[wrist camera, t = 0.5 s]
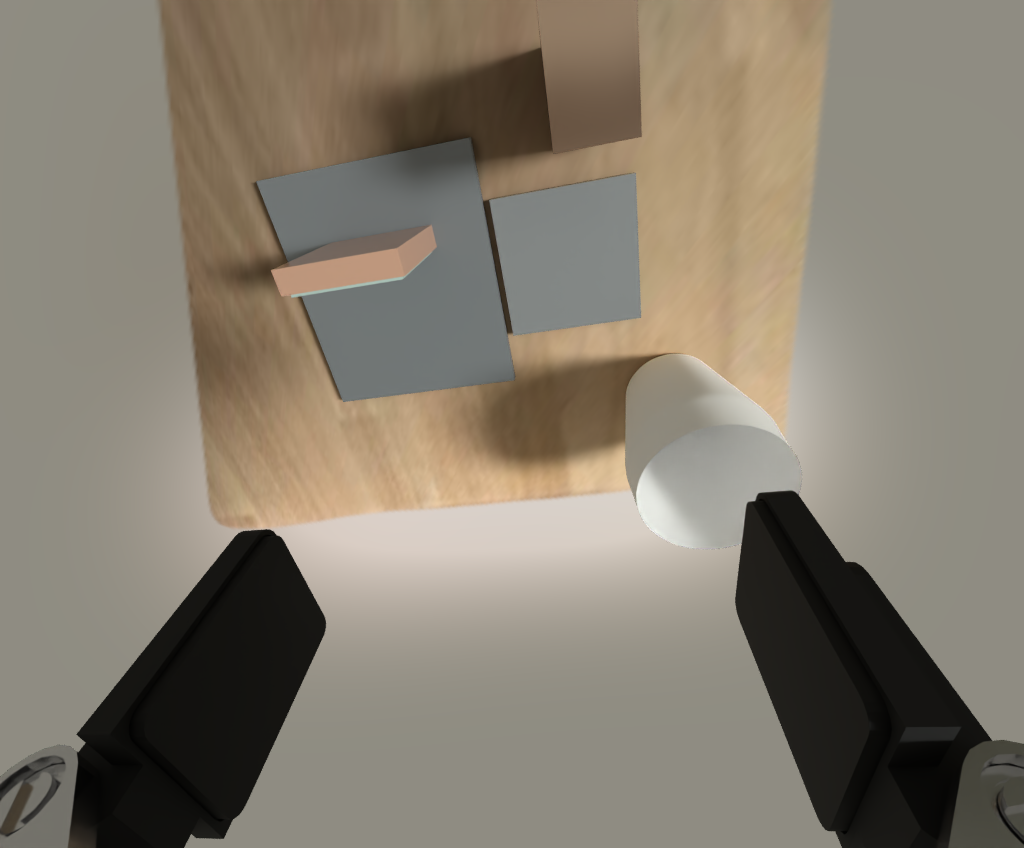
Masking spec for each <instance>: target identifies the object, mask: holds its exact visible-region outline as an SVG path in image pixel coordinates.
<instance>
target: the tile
mask: <svg viewBox="0 0 1024 848" xmlns="http://www.w3.org/2000/svg"><path fill="white" fill-rule="evenodd" d="M436 247H437V246H436V241H435V237H434V233H433V229H432V225H427V226H421V227H416V228H410V229H405V230H399V231H393V232H388V233H382V234H377V235H371V236H366V237H360V238H355V239H349V240H344V241H338V242H332V243H330V244H327V245H325V246H323V247H321V248H319V249H316V250H314V251H312V252H310V253H308V254H305V255H303V256H301V257H299V258H297V259H294V260H292V261H290V262H288V263H285V264H283V265H281V266H279V267H277V268H274V269H272V270H271V272H272V274H273V277H274V279H275V282H276V284H277V286H278V289H279V291H280V294H281V296H288V295H291V297H299V296H305V295H311V294H317V293H323V292H329V291H335V290H341V289H347V288H353V287H359V286H366V285H372V284H378V283H384V282H390V281H396V280H402V279H404V278H405V277H406V276H407V275H408V274H409V273H410V272H411V271H412V270H413V269H415V268H416V267H417V266H418V265H419V264H420V263H421V262H422V261H423V260H424V259H425V258H427V257H428V256H429V255H430V254H431V253H432V251H433V250H434V249H435V248H436Z"/></svg>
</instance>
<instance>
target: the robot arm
mask: <svg viewBox="0 0 1024 848" xmlns="http://www.w3.org/2000/svg"><path fill="white" fill-rule="evenodd" d="M735 603H736V610H737V614H738V617H739V620H740V623H741V625H742V628H743V630H744V633H745V635H746V638H747V640H748V643H749V645H750V648H751V650H752V653H753V656H754V658H755V661H756V663H757V666H758V668H759V671H760V673H761V676H762V678H763V681H764V683H765V686H766V688H767V691H768V693H769V696H770V699H771V701H772V703H773V706H774V709H775V711H776V714H777V716H778V719H779V721H780V724H781V726H782V729H783V731H784V733H785V736H786V739H787V741H788V744H789V746H790V749H791V751H792V754H793V756H794V759H795V762H796V764H797V767H798V769H799V772H800V774H801V777H802V779H803V782H804V784H805V787H806V789H807V792H808V794H809V797H810V800H811V802H812V805H813V807H814V810H815V812H816V814H817V817H818V819H819V821H820V823H821V824H822V826H823V827H824V828H825V830H827V831H836V834H837V836H838V839H839V841H840V844H841V846H842V848H1024V744H1022V743H1017V742H1011V741H1006V740H996V741H992V740H991V738H990V737H989V736H988V734H987V733H986V731H985V730H984V729H983V727H982V726H981V725H980V723H979V722H978V721H977V719H976V718H975V717H974V716H973V714H972V713H971V711H970V710H969V709H968V707H967V706H966V704H965V703H964V702H963V700H962V699H961V698H960V696H959V695H958V694H957V692H956V691H955V690H954V688H953V687H952V686H951V684H950V683H949V681H948V680H947V679H946V677H945V676H944V675H943V673H942V672H941V671H940V669H939V668H938V667H937V665H936V664H935V663H934V661H933V660H932V658H931V657H930V656H929V654H928V653H927V652H926V650H925V649H924V648H923V646H922V645H921V644H920V642H919V641H918V639H917V638H916V637H915V636H914V634H913V633H912V631H911V630H910V629H909V627H908V626H907V625H906V623H905V622H904V621H903V619H902V618H901V617H900V615H899V614H898V612H897V611H896V610H895V609H894V607H893V606H892V604H891V603H890V602H889V600H888V599H887V598H886V596H885V595H884V593H883V592H882V591H881V589H880V588H879V587H878V585H877V584H876V583H875V581H874V580H873V579H872V577H871V576H870V575H869V573H868V572H867V571H866V570H865V569H864V568H863V567H862V566H860V565H859V564H857V563H855V562H845V561H844V559H843V558H842V556H841V555H840V553H839V552H838V551H837V549H836V548H835V546H834V545H833V544H832V542H831V541H830V539H829V538H828V536H827V535H826V534H825V532H824V531H823V529H822V528H821V526H820V525H819V524H818V522H817V521H816V519H815V518H814V517H813V515H812V514H811V512H810V511H809V509H808V508H807V507H806V505H805V504H804V502H803V501H802V500H801V498H800V497H799V495H798V494H797V493H796V492H795V491H792V490H789V491H776V492H762V493H758V495H757V496H756V500H755V501H750V502H748V503H747V505H746V511H745V519H744V528H743V537H742V546H741V554H740V562H739V571H738V580H737V589H736V597H735ZM325 628H326V620H325V617H324V615H323V613H322V611H321V609H320V607H319V605H318V604H317V602H316V600H315V598H314V596H313V594H312V592H311V591H310V589H309V587H308V585H307V583H306V581H305V580H304V578H303V576H302V574H301V572H300V570H299V568H298V567H297V565H296V563H295V561H294V559H293V557H292V555H291V554H290V552H289V550H288V548H287V546H286V544H285V542H284V541H283V539H282V538H281V537H280V536H277V535H276V534H275V533H274V532H273V531H272V530H267V529H266V530H252V531H243V532H240V533H238V534H237V535H236V536H235V537H234V539H233V540H232V541H231V542H230V544H229V545H228V546H227V547H226V549H225V550H224V551H223V552H222V554H221V555H220V556H219V557H218V559H217V560H216V561H215V562H214V564H213V565H212V566H211V567H210V569H209V570H208V571H207V572H206V574H205V575H204V576H203V577H202V578H201V580H200V581H199V582H198V583H197V585H196V586H195V587H194V588H193V590H192V591H191V592H190V593H189V595H188V596H187V597H186V598H185V600H184V601H183V602H182V603H181V605H180V606H179V607H178V608H177V610H176V611H175V612H174V613H173V615H172V616H171V617H170V618H169V620H168V621H167V622H166V623H165V625H164V626H163V627H162V628H161V630H160V631H159V632H158V633H157V635H156V636H155V637H154V639H153V640H152V641H151V642H150V644H149V645H148V646H147V647H146V648H145V650H144V651H143V652H142V653H141V655H140V656H139V657H138V658H137V660H136V661H135V662H134V663H133V665H132V666H131V667H130V668H129V670H128V671H127V672H126V673H125V675H124V676H123V677H122V678H121V680H120V681H119V682H118V683H117V685H116V686H115V687H114V689H113V690H112V691H111V692H110V693H109V695H108V696H107V697H106V698H105V700H104V701H103V702H102V703H101V704H100V706H99V707H98V708H97V710H96V711H95V712H94V714H92V716H91V717H90V718H89V719H88V721H87V722H86V723H85V724H84V726H83V727H82V728H81V729H80V731H79V732H78V733H77V735H78V736H79V737H80V738H81V739H82V740H83V741H85V742H86V743H85V745H84V746H83V747H82V748H81V750H80V751H79V752H77V751H75V750H74V749H73V748H72V747H71V746H65V745H57V746H53V747H49V748H45V749H42V750H40V751H38V752H36V753H34V754H32V755H30V756H28V757H26V758H25V759H23V760H22V761H20V762H19V763H18V764H16V765H14V766H13V767H11V768H10V769H9V770H7V771H6V772H5V773H4V774H3V775H1V776H0V848H184V847H185V845H186V842H187V841H188V839H189V837H190V835H191V834H192V835H193V836H195V837H196V838H213V839H214V838H215V839H224V837H225V835H226V833H227V830H228V829H229V827H230V825H231V822H232V820H233V819H234V818H236V817H237V816H238V815H239V814H240V813H241V812H242V810H243V809H244V807H245V805H246V803H247V801H248V799H249V797H250V794H251V792H252V790H253V788H254V786H255V784H256V781H257V779H258V777H259V775H260V773H261V771H262V768H263V766H264V764H265V762H266V760H267V758H268V755H269V753H270V751H271V749H272V747H273V745H274V742H275V740H276V738H277V736H278V734H279V732H280V729H281V727H282V725H283V723H284V721H285V718H286V716H287V714H288V712H289V710H290V707H291V705H292V703H293V701H294V699H295V697H296V695H297V692H298V690H299V688H300V686H301V684H302V681H303V679H304V677H305V675H306V673H307V671H308V669H309V666H310V664H311V662H312V660H313V657H314V656H315V653H316V651H317V649H318V647H319V644H320V642H321V640H322V638H323V636H324V633H325Z"/></svg>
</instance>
